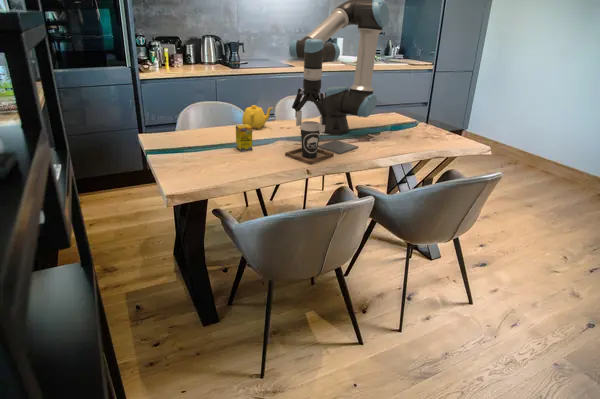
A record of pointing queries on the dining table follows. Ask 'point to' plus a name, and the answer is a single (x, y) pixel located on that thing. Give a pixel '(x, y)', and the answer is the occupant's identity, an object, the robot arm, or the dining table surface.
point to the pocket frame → (291, 155)
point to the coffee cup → (309, 138)
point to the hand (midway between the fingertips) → (310, 128)
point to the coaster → (337, 147)
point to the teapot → (255, 116)
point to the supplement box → (243, 137)
